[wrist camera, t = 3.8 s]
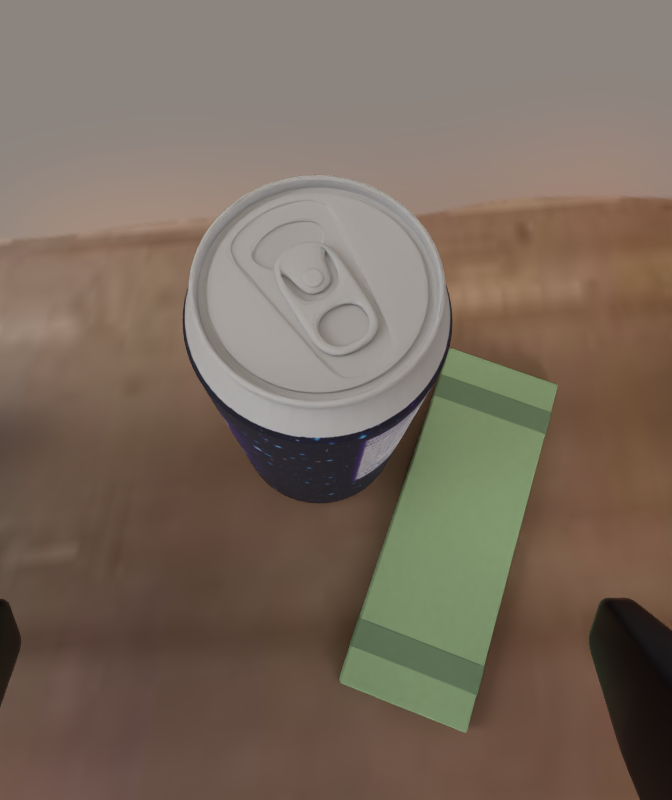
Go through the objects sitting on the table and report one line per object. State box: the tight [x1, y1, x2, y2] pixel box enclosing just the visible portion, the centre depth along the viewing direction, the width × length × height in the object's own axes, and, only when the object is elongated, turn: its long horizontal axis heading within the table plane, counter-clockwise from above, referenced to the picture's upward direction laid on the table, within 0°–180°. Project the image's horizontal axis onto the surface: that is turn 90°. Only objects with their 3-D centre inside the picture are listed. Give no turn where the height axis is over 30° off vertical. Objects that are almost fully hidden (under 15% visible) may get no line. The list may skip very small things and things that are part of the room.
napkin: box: [339, 348, 558, 733], centre depth 21 cm, size 4×13×1 cm, turn 160°
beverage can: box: [183, 175, 452, 503], centre depth 16 cm, size 6×6×12 cm
